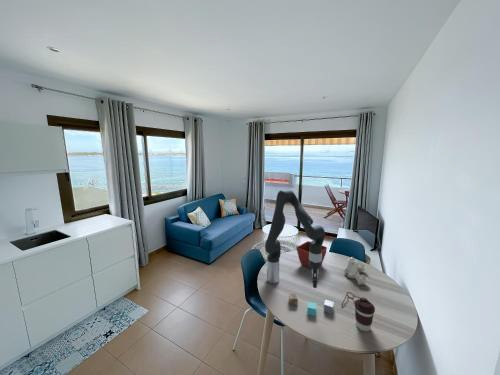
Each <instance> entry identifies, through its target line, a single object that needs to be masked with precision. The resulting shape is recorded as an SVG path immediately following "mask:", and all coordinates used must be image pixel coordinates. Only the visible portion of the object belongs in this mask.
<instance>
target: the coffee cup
mask: <svg viewBox="0 0 500 375" xmlns="http://www.w3.org/2000/svg"><path fill="white" fill-rule="evenodd" d="M366 299H367V298H366ZM366 299H360V298H357V299H356V300H355V301H354V313H355V314H354V315H355V325H356V327H357V328H358V329H359V330H360V331H363V332H369V331H370V330H371V329H372V328H371V327H372V324H373V318H374V314H375V312H376V307H375V305H374V304H373V303H372V302H370V301H369V300H368V299H367V300H366Z"/></svg>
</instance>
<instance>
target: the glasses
mask: <svg viewBox="0 0 500 375" xmlns="http://www.w3.org/2000/svg"><path fill="white" fill-rule="evenodd" d="M349 294H350V295H352V296H353V297H351V296H349ZM346 298H348V299H354V298H357V299H366V300H368V299H367V298H366V297H363V296H362V297H360V296H357V295H355V294H353V293H352V292H349V291H347V292H346V294H345V296H344V299H343V301H342V302H341V303H342V304H341V307H340V308H343V306H344V302H346Z"/></svg>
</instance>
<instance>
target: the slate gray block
mask: <svg viewBox="0 0 500 375" xmlns="http://www.w3.org/2000/svg"><path fill="white" fill-rule="evenodd" d="M334 304H335V302H334V301H331V300H328V299H325V300H324V303H323V313H328V314H330V315H333V313H334V308H335V306H334Z"/></svg>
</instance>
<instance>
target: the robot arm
mask: <svg viewBox="0 0 500 375" xmlns="http://www.w3.org/2000/svg"><path fill="white" fill-rule="evenodd" d="M275 200H276V201H275V206H274V207H275V208H274V210H273V211H274V212H273V217H272V220H271V225H270V228H269V232H268V236H267V238H266V240H265V244H264V249H265V252H266V253H267V254H268V255H267V259H266V262H267V265H266V266H267V269H266V282H268V283H270V284H272V283H273V285H274V284H278V283H279V282H280V258H281V253H282V252H281V250H282V248H281V242H280V240H279V239H278V237H279V236H280V235H281V233H282V232H283V231H284V228H285V224H286V216H285V214H284V207H285V205H286V204H290V205H291V206H292V207H293V208H294V211H295V212H294V213H295V216H296V219H297V220H298V221H299V223H300V224H301V225H302V226H303V230H304V231H305V235H306V236H307V238H309V239H310V240H312V241H310V247H309V266H310V267H311V268H312V269H311V278H312V288H314V289H317V288H318V286H317V284H318V279H319V274H320V273H319V272H320V271H319V269H322V267H323V262H322V246H323V243H324V240H325V236H326V232H325V229H324V227H323V226H322V225H315V226H313V224H314V219H313V218H312V217H311V216H310V215H309V213H307V211H306V210H305V208H304V207H303V205H302V204H301V201H300V200H299V199H298V197H297V195H296V193H294V191H293V190H292V189H283V190H279V191H278V192H277V195H276V199H275Z"/></svg>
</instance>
